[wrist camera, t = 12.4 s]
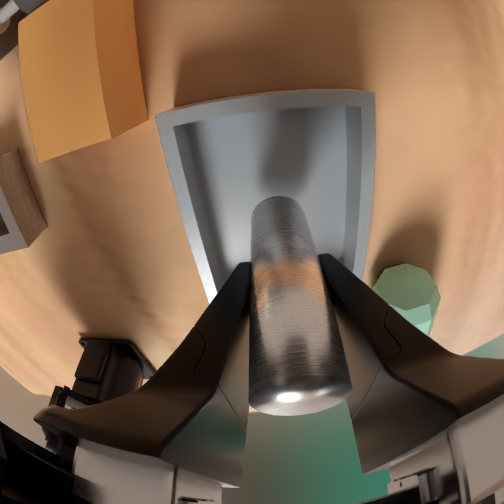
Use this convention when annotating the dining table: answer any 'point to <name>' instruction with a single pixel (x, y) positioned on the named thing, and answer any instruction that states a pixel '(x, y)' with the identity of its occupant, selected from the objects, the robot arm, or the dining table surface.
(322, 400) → the pin
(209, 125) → the tray
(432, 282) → the container
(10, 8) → the grey wheeled cart
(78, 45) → the block
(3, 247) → the pin bracket
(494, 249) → the dining table surface
